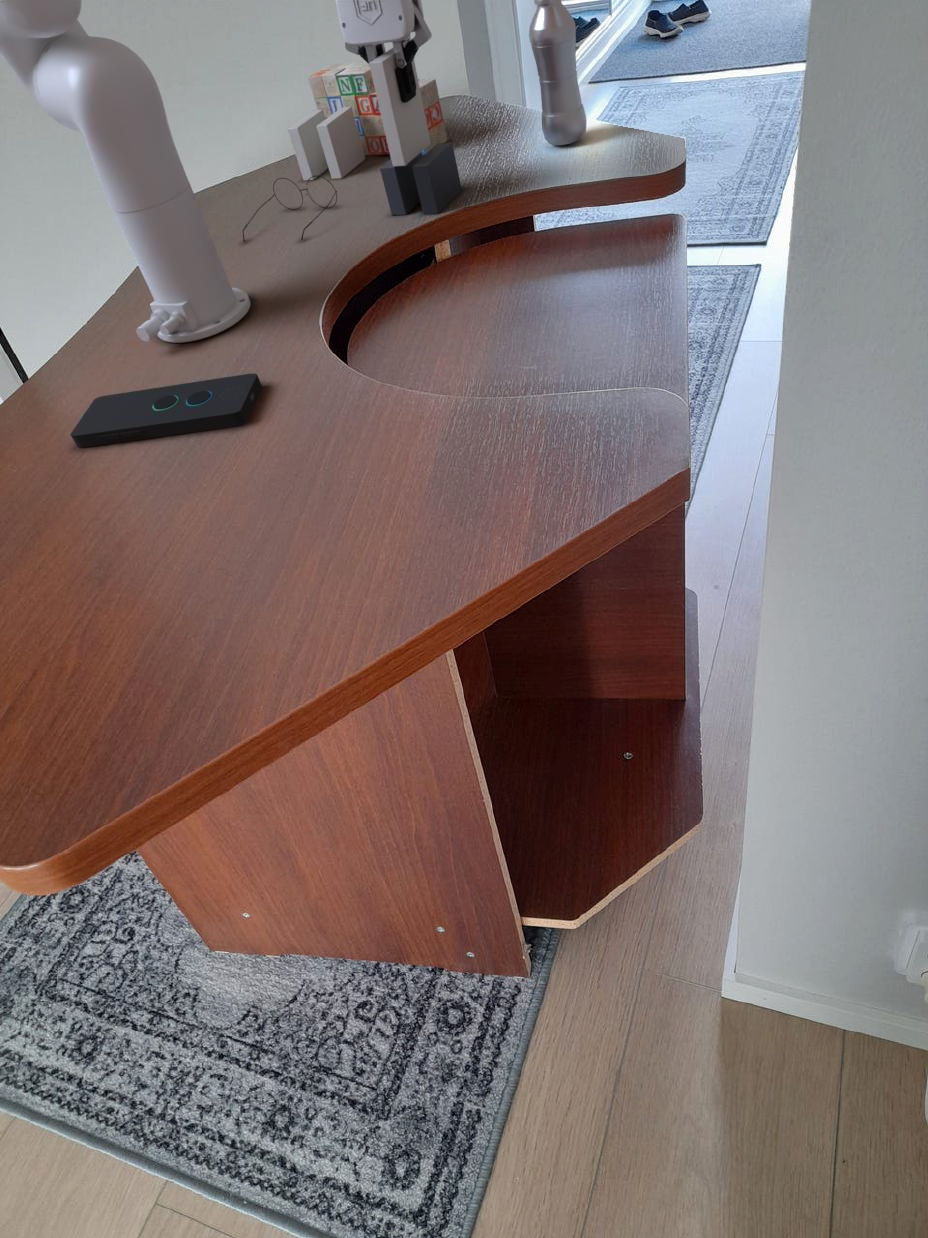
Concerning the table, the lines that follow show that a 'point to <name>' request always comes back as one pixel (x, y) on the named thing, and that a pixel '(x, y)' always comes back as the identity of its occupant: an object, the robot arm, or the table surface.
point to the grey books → (422, 181)
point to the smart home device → (168, 410)
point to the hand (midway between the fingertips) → (400, 98)
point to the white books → (327, 143)
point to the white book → (399, 112)
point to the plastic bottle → (557, 72)
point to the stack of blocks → (370, 103)
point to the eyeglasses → (299, 207)
